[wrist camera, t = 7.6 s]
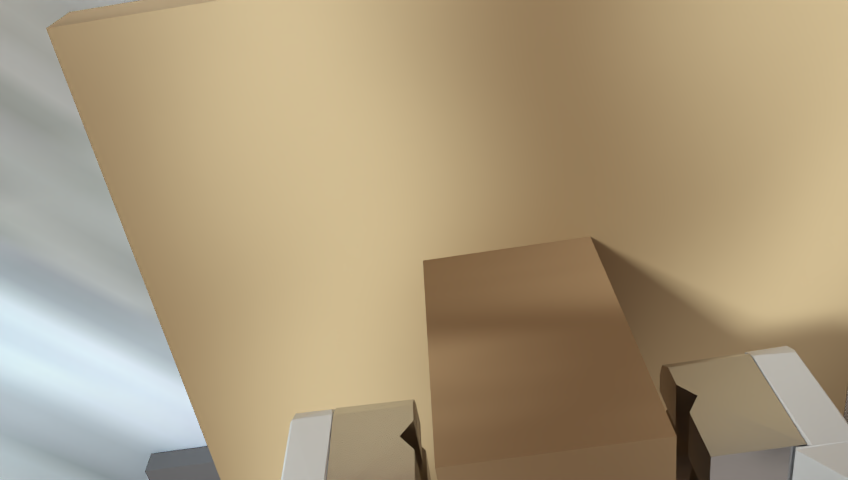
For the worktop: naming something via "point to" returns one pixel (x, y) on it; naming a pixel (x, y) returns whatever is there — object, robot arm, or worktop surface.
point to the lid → (473, 211)
